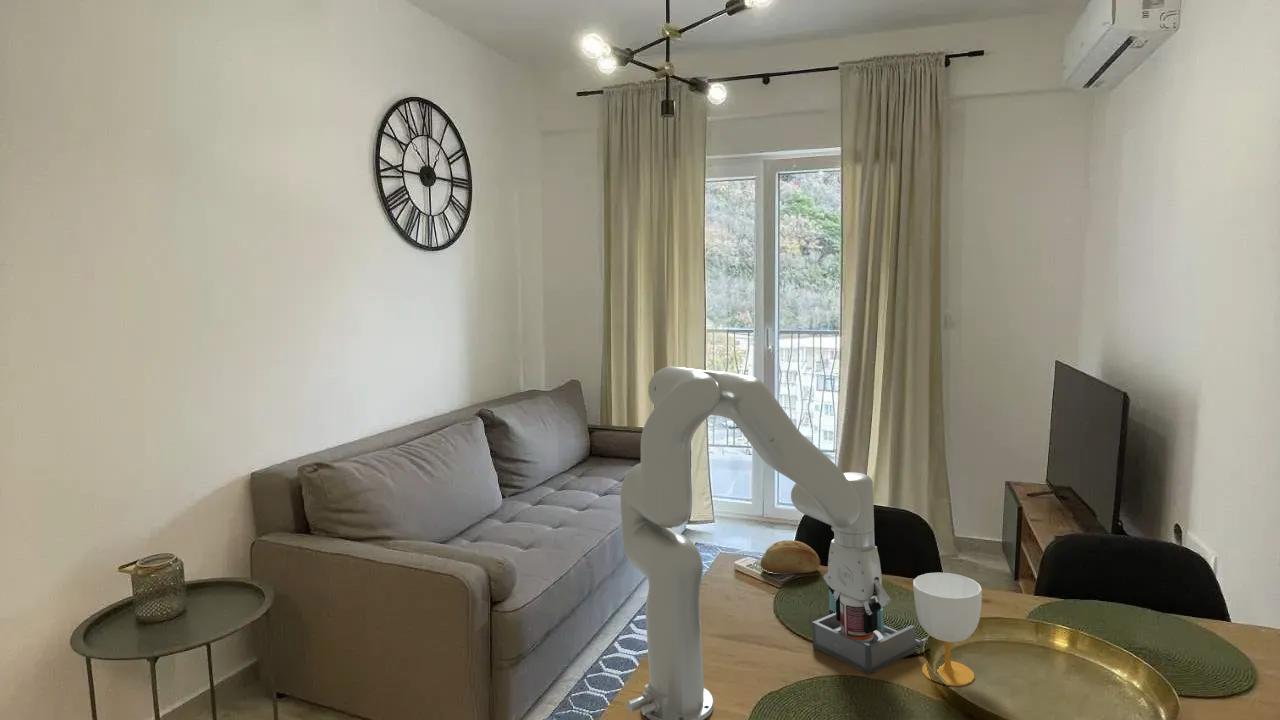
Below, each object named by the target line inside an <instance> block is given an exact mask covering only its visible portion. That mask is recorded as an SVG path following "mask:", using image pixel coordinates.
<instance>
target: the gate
mask: <svg viewBox="0 0 1280 720" xmlns="http://www.w3.org/2000/svg"><path fill="white" fill-rule="evenodd" d="M828 600H829V601H828V603H829V606H828V607H829V609H828V610H829V611H830V610H831V611H830V612H832V611H833V612H832V613H834V612H836V601H835V600H834V599H833V594H832V592H831V591H830V589H829V588H828ZM877 619H878V626H877V627H878V628H877V629H880V630H882V631H884V624H885V623H884V608H882V609H881V610H880V611H878V612H877ZM884 632H885V631H884Z"/></svg>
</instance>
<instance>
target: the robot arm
mask: <svg viewBox="0 0 1280 720" xmlns="http://www.w3.org/2000/svg"><path fill="white" fill-rule="evenodd" d="M647 389H648V391H647V392H648V396H649V399H650V402H651V404H653V406H654V409H652V411H651V413H650V414H649V416H648V418H647V420H646V421H645V424H644V425H643V428H642V432H641V436H640V437H641V438H640V463H639V462H638V463H637V464H635V465H634V466H632V467H631V468H630V469H629V470H628V471H627V473H626V474H625V475H624V478H623V480H622V483H621V488H620V511H621V512H620V514H621V529H622V541H623V549H624V550H623V551H624V553H625V555H626V556H625V557H626V558H627V560H628V562H629V563H630V564H631V565H632V566H633V567H634V568H635V569H636V570H637V571H639V572H640V573H641V574H642V575H643V576H644V577H645V578H646V580H647V582H648V592H647V596H646V602H645V626H646V640H647V642H646V643H647V658H648V675H649V678H648V679H649V683H647V684H645V685H644V692H642V693H641V694H640V696H638V697H635V698H633V699H630V700H628V701H626V703H625V704H626V709H627V712H629V713H630V714H632V713H634V712H637V711H639V710H640V712H641V714H642V715H643V716H645V717H646V718H647V719H648V720H705V719H707V718H708V717H709V716H710V715H711V713H712V712H713V710H714V698H713V695H712V694H711V692H710V691H709V690H708V689H706V688H705V684H704V665H703V663H704V662H703V646H702V645H703V643H702V642H703V640H702V624H701V623H702V622H701V586H702V579H703V573H704V572H703V571H704V568H703V567H704V565H703V559H702V555H701V553H700V551H699V550H698V548H697V546H696V544H694V543H693V542H692V541H691V540H690V539H689V538H688V537H687V536H685V535H684V534H682V533H680V532H679V531H677V530H676V529H675V528H678V527H680V526H682V525H684V524H685V523H686V522H687V521H688V520H689V517H690V516H691V514H692V513H691V512H692V509H693V492H692V491H693V489H692V488H693V487H692V476H691V475H692V472H691V471H692V470H691V447H692V446H691V445H692V440H693V438H694V435H695V434H696V432H697V430H698V429H699V428H700V427H701V425H702V424H703V423H704V421H706V420H707V419H708V418H709V417H710V416H718V417H722V418H725V419H729V420H731V421H732V422H733V423H734V425H736V427H737V428H738V429H739V430H740V432H741V433H742V434H743V436H744V437H745V438H746V440H747V441H748V442H749V444H750V446H752V448H753V449H754V450H755V452H756V453H757V454H758V456H759V457H760V458H761V460H763V462H765V464H767V465H768V466H769V467H771V468H772V469H773V470H775V471H776V472H778V473H779V474H781V475H783V476H785V477H786V478H788V479H789V480H791V481H792V482H794V483H795V484H794V485H793V487H792V489H791V492H790V499H791V502H792V504H793V507H794V508H795V509H796V510H797V511H799V512H800V513H802V514H803V515H805V516H808V517H810V518H812V519H814V520H818V521H820V522H823V523H824V524H827V525H829V526H831V528H830V529H831V531H832V532H833V533H834V534H833V535H834V536H833V539H832V540H831V541H830V546H829V551H828V559H827V572H826V573H825V574H824V575H823V580H824V582H825V583H826V585H827V586H828V590H829V589H830V591H831V592H832V594H833V599H834V600H835V601H836V620H837V621H841V617H840V595H841V593H842V594H844V595H847V596H849V597H852V598H854V599H857V600H859V601H863V604H864V607H865V610H866V613H864V632H865V633H866V634H869V633H871V632H873V631H876V630H877V628H878V627H877V626H878V619H877V612H878V611H880V610H881V609H884V607H885V606H887V605H888V604H889V603H891V601H892V599H891V598H890V596H889V594H888V593H887V591H886V590H885V589H884V587H883V580H882V578H883V577H882V569H881V562H880V561H881V559H880V555H879V552H878V546H876V545H875V516H874V515H875V513H874V512H875V511H874V509H875V508H874V503H875V502H874V483H873V480H872V477H870V476H869V475H867V474H865V473H862V472H855V471H849V472H843V471H842V470H841V469H840V468H839V467H838V466H837V465H836V464H835V463H834V461H832V460H831V459H830V458H829V457H828V456H827V455H826V454H824V452H823V451H821V450H820V449H819V448H818V447H817V446H816V445H815V444H814V443H813V442H812V441H810V440H809V439H808V438H807V437H806V436H805V435H804V434H802V433H801V431H800V430H799V429H798V427H797V426H796V425H795V424H794V422H793V420H791V418H790V416H789V415H788V414H787V413H786V411H785V410H784V408H783V407H782V406H781V404H780V403H779V402H778V401H779V400H777V399H776V397H775V396H774V394H773V393H772V391H770V389H769V388H768V387H767V385H766V384H765V383H764V382H763V381H762V380H760V379H759V378H757V377H755V376H752V375H747V374H742V373H736V372H729V371H715V370H705V369H704V370H703V369H697V368H686V367H679V366H666V367H663V368H661V369H659V370H658V371H655V373H654V374H653V375H652V377H651V379H650V380H649V382H648V388H647ZM869 600H871V602H872V606H871V605H870V602H869Z"/></svg>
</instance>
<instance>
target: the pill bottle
mask: <svg viewBox="0 0 1280 720" xmlns="http://www.w3.org/2000/svg"><path fill="white" fill-rule="evenodd" d="M869 602H870V605H871V606H872V602H871V600H869ZM864 613H866V610H865V607H864V604H863V601H859V600H857V599H854V598H852V597H849V596H847V595H844V594H842V593H841V595H840V617H841V633H842V634H844V635H846V636H848V637H851V638H853V639H855V640H857V641H859V642H861V643H867V642H869V641H871V640H872V639H873V632H871V633H869V634H866V633H865V632H864Z"/></svg>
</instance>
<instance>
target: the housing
mask: <svg viewBox="0 0 1280 720" xmlns="http://www.w3.org/2000/svg"><path fill="white" fill-rule="evenodd" d="M811 627H812V647H813V648H815V649H817V650H819V651H821V652H822V653H825V654H827V655H829V656H830V657H832V658H834V659H837V660H839V661H840V662H842V663H845V665H848V666H850V667H852V668H854V669H856V670H859V672H863V673H864V674H866V675H868V676H870V675H872V674H874V673H877V672H878V671H880V670H883V669H884V668H886V667H888V666H890V665H892V664H894V663H896V662H898V661H901V660H902V659H903V658H905V657H908V656H909V655H911V654H914V653H916V652H917V646H919V648H920V653H922V654H924V653H923V647H924V644H925V642H926V641H927V642H928V638H927V637H924V638H922V639H917V638H916V626H915V625H914V624H913V625H912V624H910V625H909V626H906V627H904V628H903V629H900V630H896V629H894V628H892V627H889V626H887V625H884V631H882V630H880V629H877V630H876V631H873V639H872V640H871V641H869V642H867V643H861V642H859V641H857V640H855V639H853V638H851V637H848V636H846V635H844V634H842V633H841V621H837V620H836V612H835V613H834V612H832V613H831V614H828V615H826V616H824V617H821V618H818V619H817V620H814V621H812V622H811Z"/></svg>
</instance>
